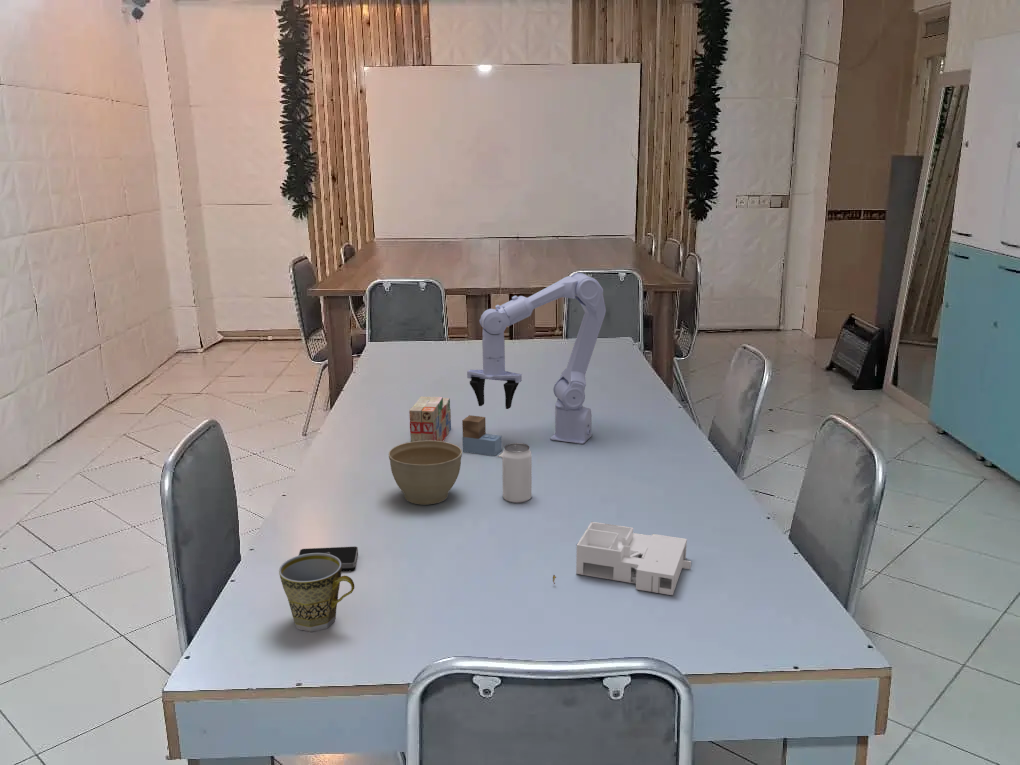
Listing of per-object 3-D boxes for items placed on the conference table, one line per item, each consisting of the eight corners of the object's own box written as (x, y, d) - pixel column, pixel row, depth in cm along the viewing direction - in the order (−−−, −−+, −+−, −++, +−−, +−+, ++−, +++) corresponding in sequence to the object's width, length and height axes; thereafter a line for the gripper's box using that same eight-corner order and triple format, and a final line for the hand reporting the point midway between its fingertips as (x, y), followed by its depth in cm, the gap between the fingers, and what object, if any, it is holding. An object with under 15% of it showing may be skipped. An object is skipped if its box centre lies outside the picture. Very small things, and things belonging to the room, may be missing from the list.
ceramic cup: (271, 630, 138) (266, 575, 135) (306, 601, 147) (302, 548, 144) (340, 646, 134) (336, 589, 131) (372, 614, 143) (369, 561, 140)
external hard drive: (355, 572, 157) (354, 563, 157) (294, 575, 157) (294, 565, 156) (358, 555, 164) (358, 546, 164) (300, 558, 163) (299, 548, 163)
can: (510, 505, 186) (510, 454, 183) (497, 495, 191) (497, 445, 188) (536, 500, 189) (536, 449, 185) (522, 490, 194) (522, 440, 191)
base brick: (501, 450, 220) (501, 434, 219) (494, 456, 216) (494, 440, 214) (470, 446, 223) (469, 430, 222) (462, 451, 219) (462, 435, 218)
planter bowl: (466, 509, 184) (465, 462, 181) (391, 514, 182) (389, 466, 179) (458, 481, 199) (457, 437, 197) (389, 486, 197) (387, 441, 194)
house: (552, 585, 152) (552, 554, 150) (579, 541, 169) (580, 514, 167) (678, 607, 144) (679, 575, 143) (693, 559, 161) (695, 530, 160)
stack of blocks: (429, 428, 237) (428, 386, 234) (451, 429, 236) (450, 387, 233) (410, 455, 217) (408, 409, 214) (434, 456, 216) (433, 410, 213)
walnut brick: (485, 433, 220) (485, 417, 219) (478, 438, 216) (478, 422, 215) (469, 431, 222) (469, 415, 221) (462, 436, 218) (462, 420, 217)
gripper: (461, 357, 218) (463, 408, 221) (514, 361, 212) (515, 413, 216) (472, 351, 224) (474, 400, 228) (524, 355, 219) (524, 405, 222)
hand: (494, 406), depth 222 cm, fingers open, 7 cm apart
